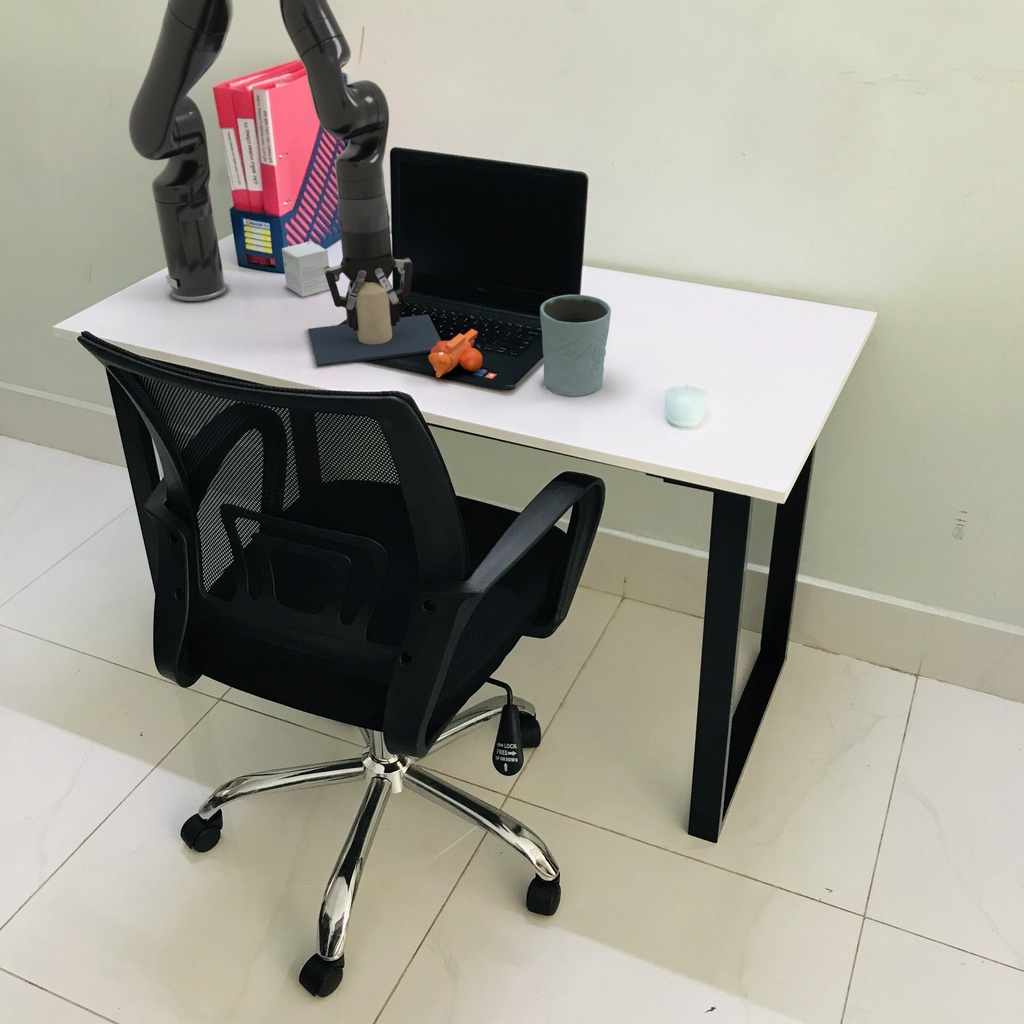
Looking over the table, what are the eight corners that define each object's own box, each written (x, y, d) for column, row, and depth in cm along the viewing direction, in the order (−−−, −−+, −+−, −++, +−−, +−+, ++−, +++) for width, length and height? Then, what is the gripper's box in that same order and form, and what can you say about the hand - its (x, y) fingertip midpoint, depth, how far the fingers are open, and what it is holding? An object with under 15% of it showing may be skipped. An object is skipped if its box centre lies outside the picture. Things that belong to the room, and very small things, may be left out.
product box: (285, 287, 199) (280, 247, 195) (316, 279, 202) (311, 240, 198) (302, 297, 195) (296, 257, 191) (332, 289, 198) (328, 249, 194)
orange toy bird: (461, 315, 172) (423, 345, 163) (503, 337, 171) (466, 369, 162) (454, 342, 176) (415, 373, 167) (494, 364, 174) (458, 396, 165)
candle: (386, 346, 176) (381, 286, 171) (353, 343, 177) (347, 284, 172) (396, 332, 181) (391, 273, 175) (364, 329, 182) (358, 271, 176)
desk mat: (308, 331, 183) (308, 328, 183) (428, 317, 187) (428, 314, 187) (317, 366, 171) (317, 363, 171) (445, 350, 175) (445, 347, 175)
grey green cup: (560, 364, 171) (561, 289, 164) (620, 377, 166) (623, 301, 160) (527, 390, 163) (526, 313, 157) (589, 405, 159) (591, 327, 152)
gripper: (406, 210, 173) (414, 312, 182) (314, 219, 170) (326, 323, 180) (415, 225, 167) (422, 330, 176) (319, 235, 164) (331, 341, 173)
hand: (373, 326), depth 178 cm, fingers closed on candle, 5 cm apart
